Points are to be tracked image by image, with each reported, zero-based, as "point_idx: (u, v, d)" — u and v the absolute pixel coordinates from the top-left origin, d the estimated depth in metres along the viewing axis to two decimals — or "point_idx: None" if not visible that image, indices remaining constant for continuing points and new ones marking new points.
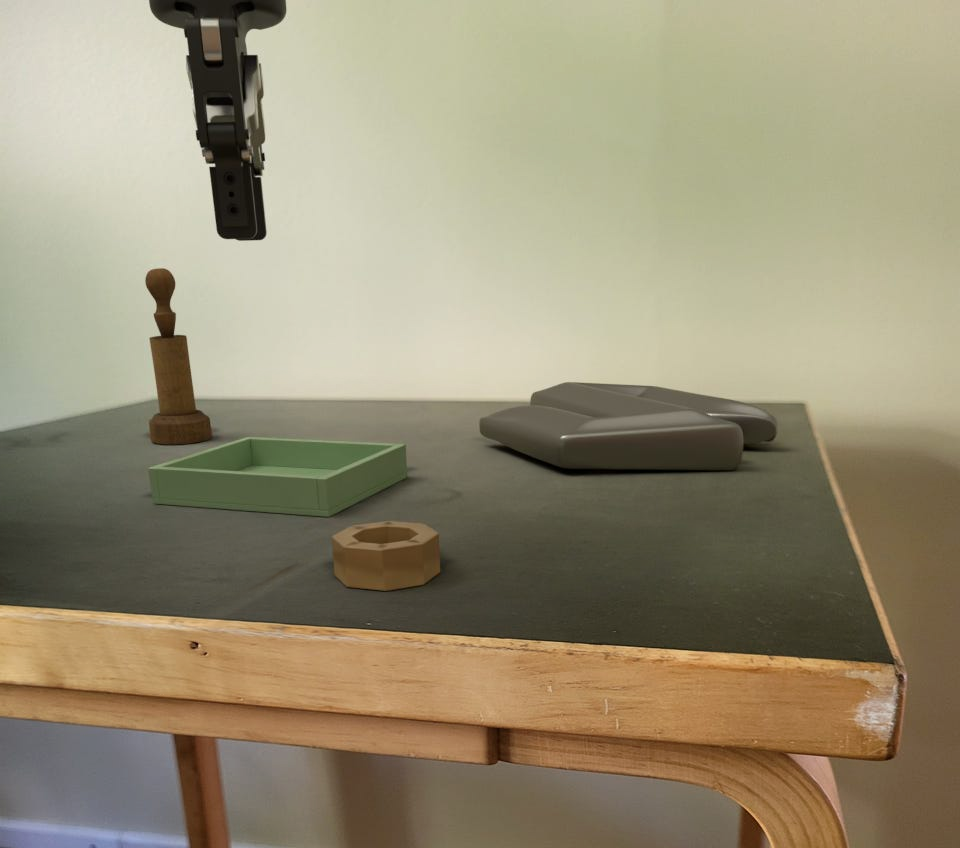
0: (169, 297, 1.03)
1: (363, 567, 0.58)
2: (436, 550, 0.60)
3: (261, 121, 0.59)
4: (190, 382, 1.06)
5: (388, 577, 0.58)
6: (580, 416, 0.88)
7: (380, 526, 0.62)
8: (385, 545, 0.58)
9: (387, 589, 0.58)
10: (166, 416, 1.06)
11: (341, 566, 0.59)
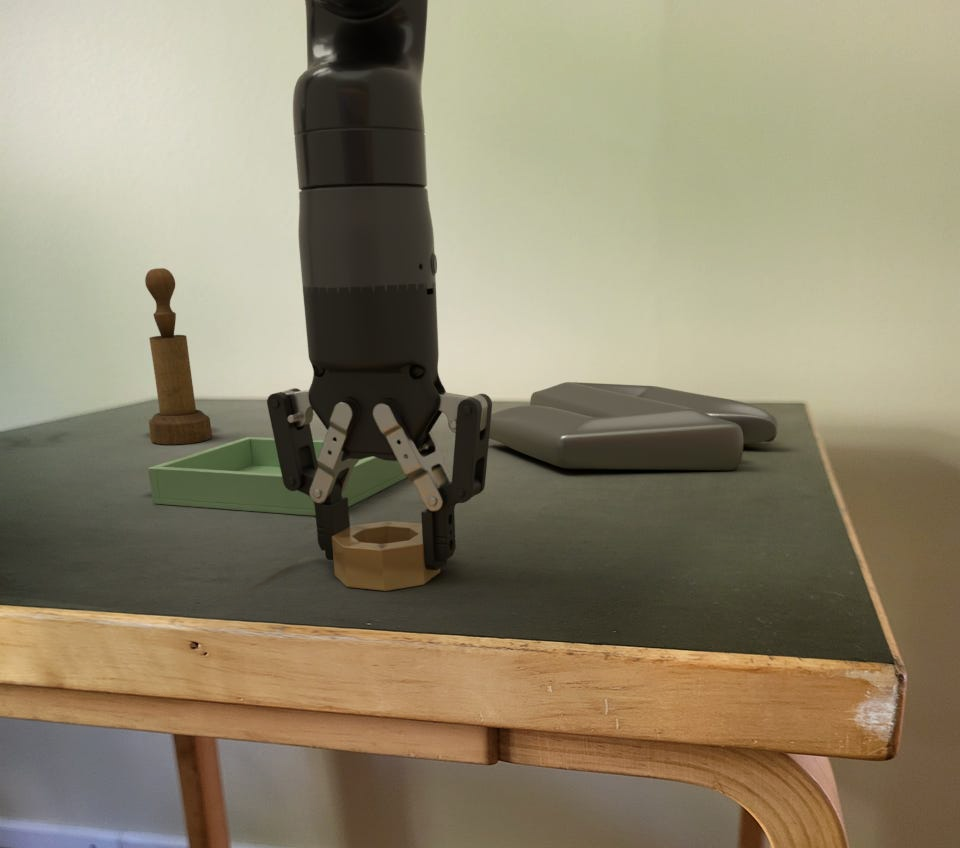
0: (169, 297, 1.03)
1: (363, 567, 0.58)
2: None
3: None
4: (190, 382, 1.06)
5: (388, 577, 0.58)
6: (580, 416, 0.88)
7: (380, 526, 0.62)
8: (385, 545, 0.58)
9: (387, 589, 0.58)
10: (166, 416, 1.06)
11: (341, 566, 0.59)
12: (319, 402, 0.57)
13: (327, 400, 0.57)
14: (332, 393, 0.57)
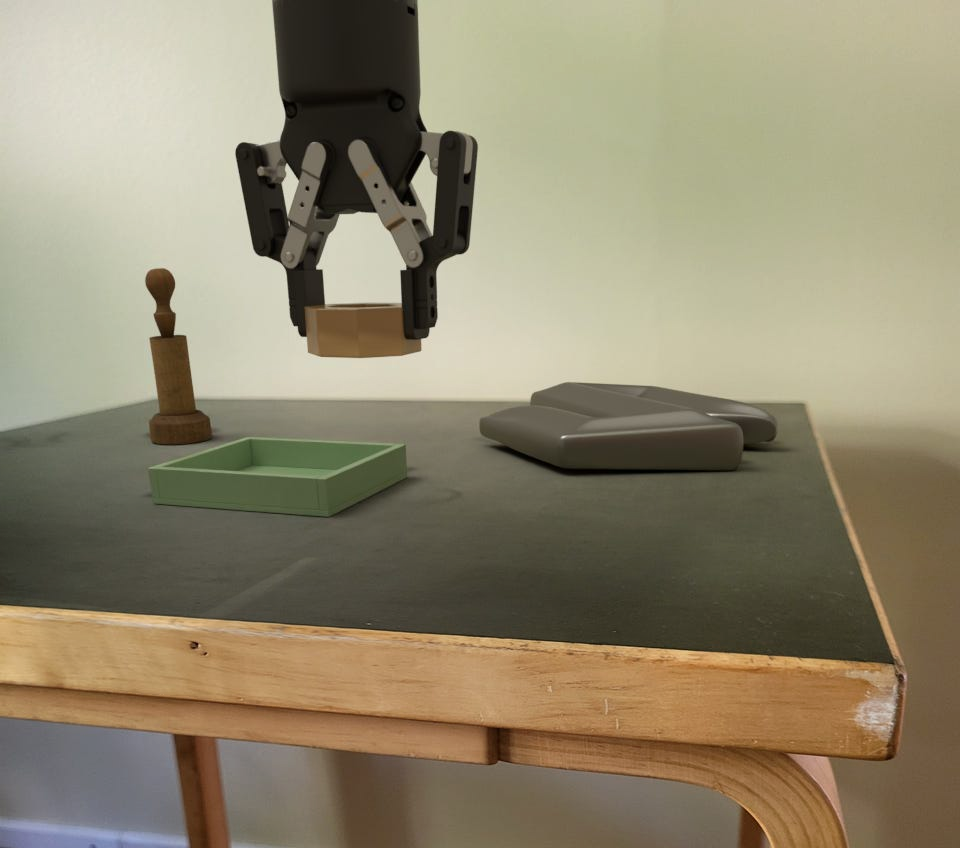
0: (169, 297, 1.03)
1: (337, 331, 0.54)
2: None
3: None
4: (190, 382, 1.06)
5: (364, 342, 0.54)
6: (580, 416, 0.88)
7: (358, 304, 0.58)
8: None
9: (363, 356, 0.54)
10: (166, 416, 1.06)
11: (314, 335, 0.55)
12: (291, 149, 0.53)
13: (300, 145, 0.53)
14: (305, 136, 0.52)
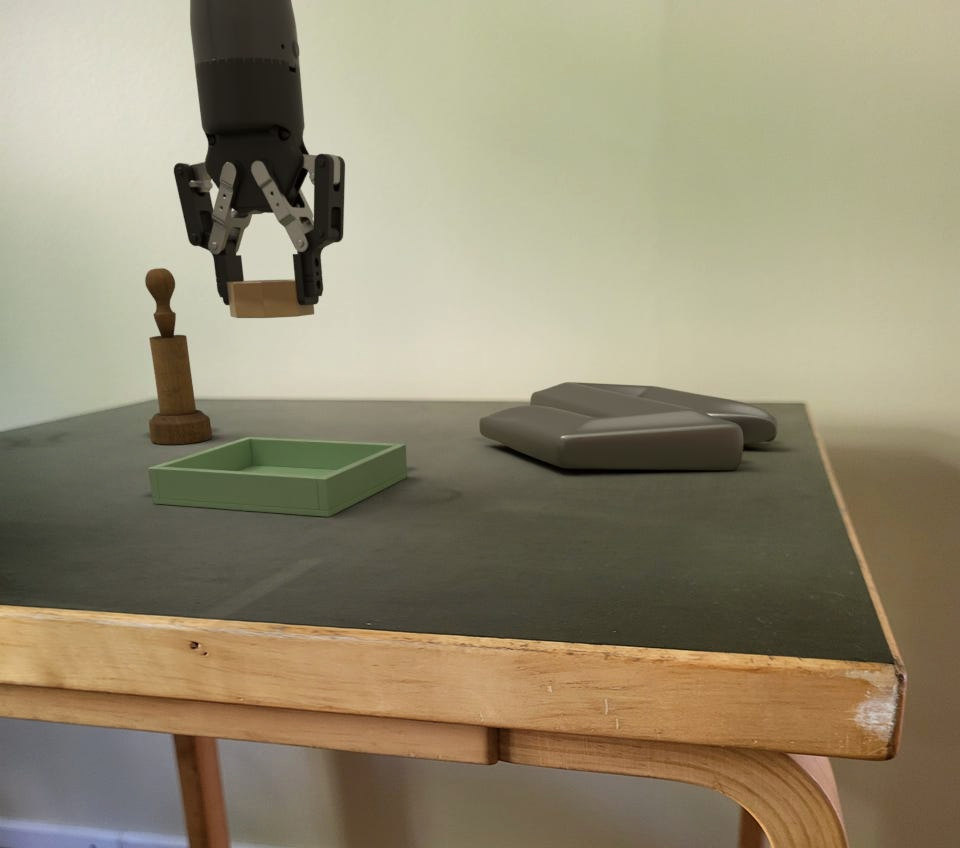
0: (169, 297, 1.03)
1: (248, 299, 0.74)
2: None
3: None
4: (190, 382, 1.06)
5: (267, 306, 0.74)
6: (580, 416, 0.88)
7: (268, 280, 0.78)
8: (265, 281, 0.74)
9: (267, 316, 0.74)
10: (166, 416, 1.06)
11: (233, 302, 0.75)
12: (213, 167, 0.73)
13: (218, 165, 0.73)
14: (222, 158, 0.73)
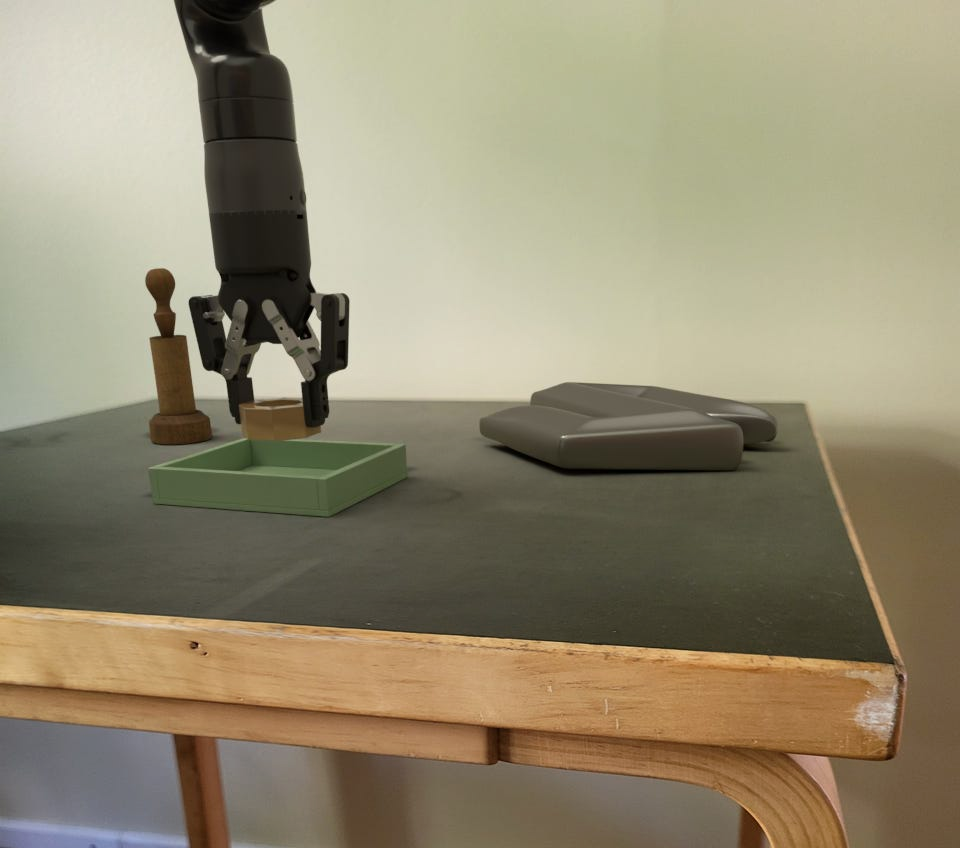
0: (169, 297, 1.03)
1: (259, 423, 0.79)
2: None
3: None
4: (190, 382, 1.06)
5: (277, 430, 0.79)
6: (580, 416, 0.88)
7: (277, 399, 0.83)
8: (275, 407, 0.79)
9: (277, 439, 0.79)
10: (166, 416, 1.06)
11: (244, 425, 0.80)
12: (225, 301, 0.78)
13: (231, 300, 0.78)
14: (234, 294, 0.78)
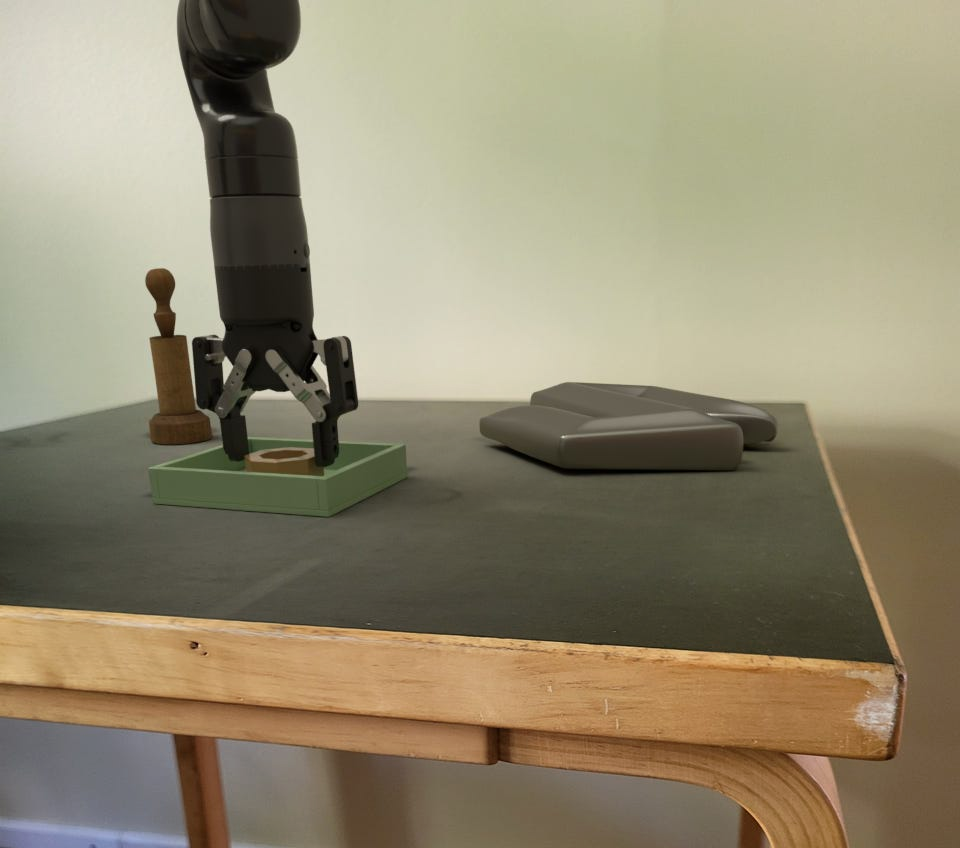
0: (169, 297, 1.03)
1: None
2: None
3: None
4: (190, 382, 1.06)
5: None
6: (580, 416, 0.88)
7: (282, 450, 0.85)
8: (280, 459, 0.81)
9: None
10: (166, 416, 1.06)
11: None
12: (229, 350, 0.80)
13: (235, 348, 0.80)
14: (239, 345, 0.79)
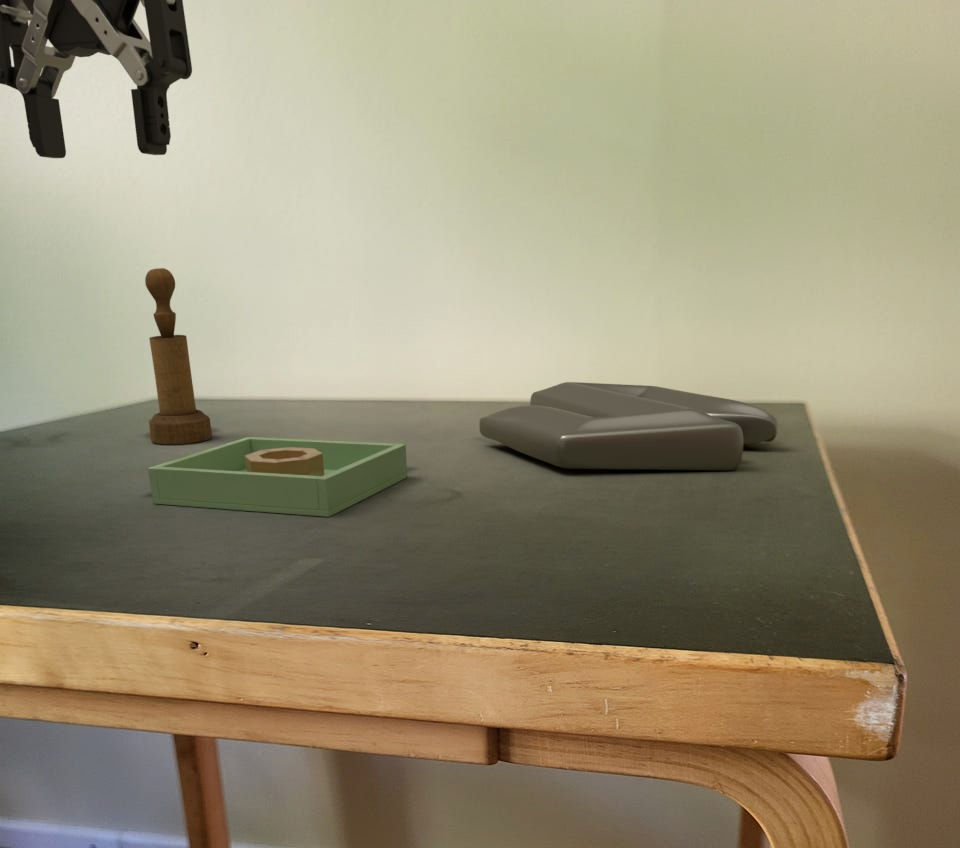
0: (169, 297, 1.03)
1: None
2: (320, 465, 0.83)
3: None
4: (190, 382, 1.06)
5: None
6: (580, 416, 0.88)
7: (282, 450, 0.85)
8: (280, 459, 0.81)
9: None
10: (166, 416, 1.06)
11: None
12: None
13: None
14: None
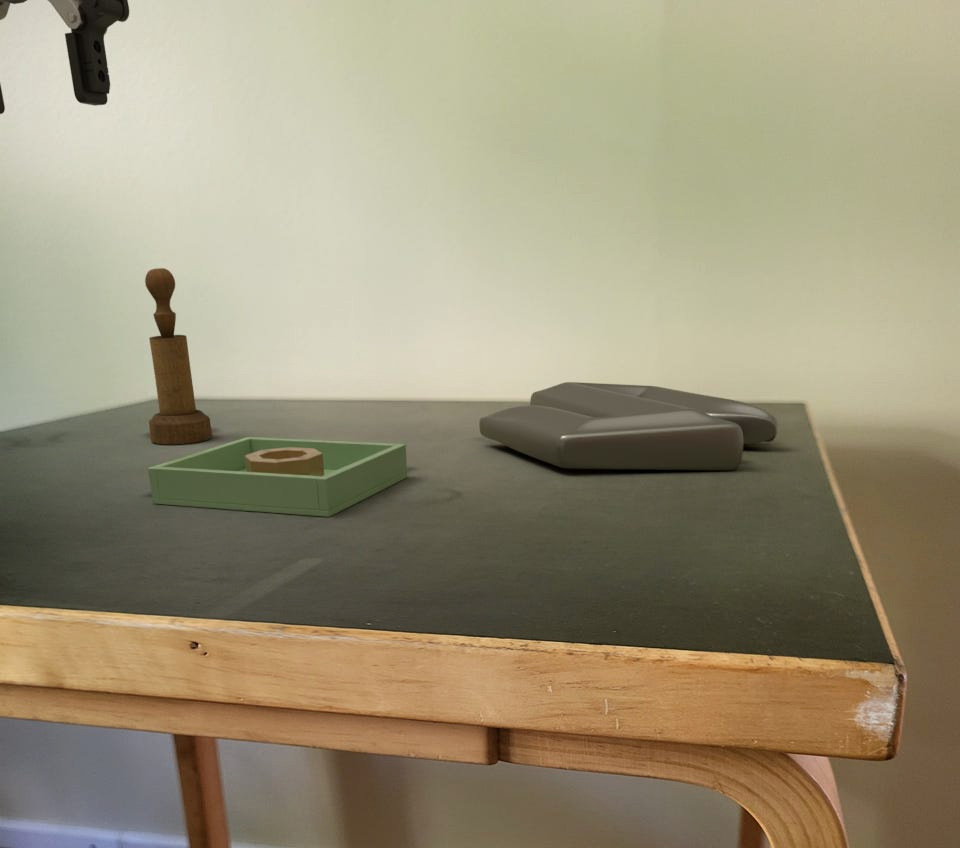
0: (169, 297, 1.03)
1: None
2: (320, 465, 0.83)
3: None
4: (190, 382, 1.06)
5: None
6: (580, 416, 0.88)
7: (282, 450, 0.85)
8: (280, 459, 0.81)
9: None
10: (166, 416, 1.06)
11: None
12: None
13: None
14: None
